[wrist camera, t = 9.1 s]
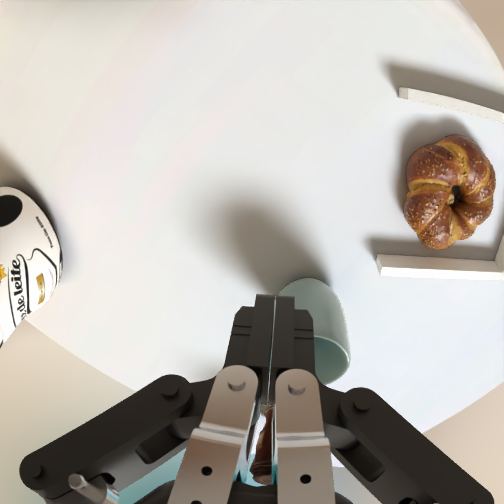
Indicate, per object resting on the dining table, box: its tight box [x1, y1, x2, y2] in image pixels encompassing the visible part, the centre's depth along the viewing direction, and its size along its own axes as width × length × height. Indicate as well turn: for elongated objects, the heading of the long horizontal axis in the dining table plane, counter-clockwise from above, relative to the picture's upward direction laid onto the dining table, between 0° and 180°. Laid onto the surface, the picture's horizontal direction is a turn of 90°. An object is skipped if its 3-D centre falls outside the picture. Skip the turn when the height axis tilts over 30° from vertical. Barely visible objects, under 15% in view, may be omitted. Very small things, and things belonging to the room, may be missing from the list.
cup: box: [269, 278, 350, 385], centre depth 31 cm, size 8×8×10 cm
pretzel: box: [403, 135, 496, 250], centre depth 26 cm, size 12×11×4 cm
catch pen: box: [376, 87, 504, 280], centre depth 26 cm, size 18×17×2 cm
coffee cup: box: [250, 407, 273, 485], centre depth 43 cm, size 9×8×13 cm
